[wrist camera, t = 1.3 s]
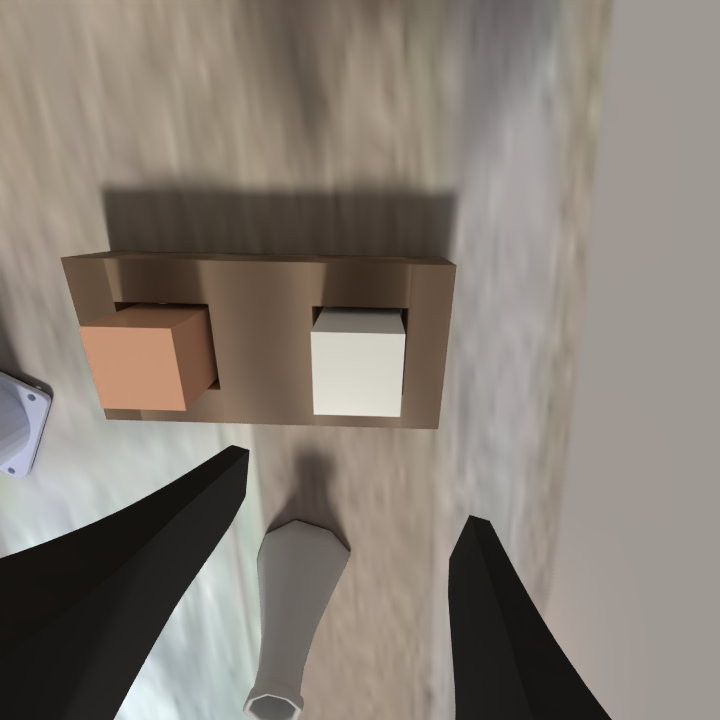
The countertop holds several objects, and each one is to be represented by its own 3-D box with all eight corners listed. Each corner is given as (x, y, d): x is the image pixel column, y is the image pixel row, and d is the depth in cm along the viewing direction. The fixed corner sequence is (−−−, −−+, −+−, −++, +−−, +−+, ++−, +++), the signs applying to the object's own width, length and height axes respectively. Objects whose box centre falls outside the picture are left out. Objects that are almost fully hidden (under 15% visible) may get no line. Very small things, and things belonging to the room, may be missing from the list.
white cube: (325, 374, 21) (313, 414, 17) (323, 307, 19) (310, 331, 15) (394, 376, 21) (400, 416, 17) (398, 308, 19) (405, 334, 15)
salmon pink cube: (155, 370, 21) (102, 408, 17) (141, 303, 20) (78, 326, 15) (222, 372, 21) (186, 410, 17) (213, 304, 19) (170, 328, 15)
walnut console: (142, 391, 24) (106, 419, 21) (109, 251, 21) (60, 257, 17) (428, 399, 23) (438, 429, 20) (442, 257, 20) (456, 265, 17)
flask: (242, 556, 29) (182, 713, 20) (293, 504, 27) (253, 652, 18) (313, 596, 31) (288, 759, 22) (366, 550, 29) (364, 709, 19)
